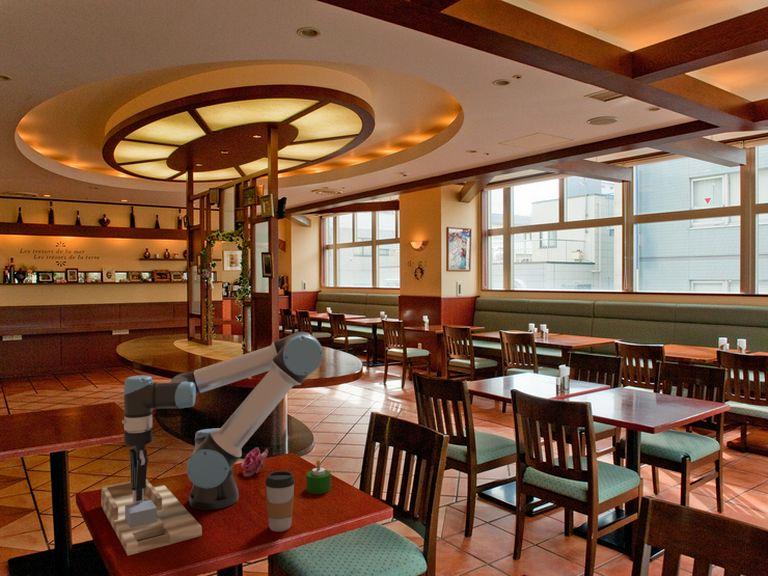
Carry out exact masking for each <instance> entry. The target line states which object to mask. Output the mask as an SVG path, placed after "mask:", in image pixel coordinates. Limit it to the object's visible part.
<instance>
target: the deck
mask: <svg viewBox="0 0 768 576" xmlns="http://www.w3.org/2000/svg"><path fill="white" fill-rule="evenodd" d="M131 488H134V487H132V483H131V480H130V481H126V482H125V481H124V482H121V483H116V484H110V485H105V486H101V493H100V495H101V496H100V497H101V508H102V509H103V512H104V514H105V515H106V517H107V519H108V521H109V523H110V525H111V527H112V529H113V530H114V532H115V534H116V536H117V538H118V540H119V542H120V543H121V546H122V547H123V550H124V551H125V553H126V555H127V556H131V555H135V554H139V553H143V552H146V551H151V550H154V549H157V548H161V547H165V546H169V545H173V544H176V543H180V542H183V541H187V540H191V539H194V538H198V537H202V536H203V527H202V525H201V524H200V522H198V521H197V520H196V518H195V517H194V516H193V515H192V514H191V513H190V512H189V510H187V509H186V508H185V506H184V505H183V504H182V503H181V502H180V501H179V500H178V498H176V496H175V495H174V494H173V493H172V492H171V490H170V489H168V488H167V486H166V485H165V484H164V485H158V486H153V485H152V483H150V481H149V480H148V479H147V478H146V488H144V501H148V500H151V501H152V502H153V503H154V504H155V506H156V507H157V522H154V523H149V524H145V525H141V526H137V527H133V528H130V527H129V525H128V523H127V522H126V520H125V505H129V504H133V491H132V489H131Z"/></svg>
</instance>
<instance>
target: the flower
mask: <svg viewBox="0 0 768 576" xmlns="http://www.w3.org/2000/svg"><path fill="white" fill-rule="evenodd" d="M268 455H269V450H268V448H265V450H264V451H263V452H262V453H261V450H260V449H259V447H254V448H253V449H251V450H250V451H249V452H248V453H247V454H246V456H245V457H244V460H243V462H242V463H241V464H240V465H241V467H242V469H244V470H243V471H242V475H243V476H244V477H251V476H252V475H254V474H255V473H256V474H258V473H259V470H260V469H263V468H264V469H266V466H265V464H264V461H265V459H266V458H267V456H268ZM267 470H268V471H270V468H269V469H267Z"/></svg>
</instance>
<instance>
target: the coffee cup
mask: <svg viewBox="0 0 768 576" xmlns="http://www.w3.org/2000/svg"><path fill="white" fill-rule="evenodd" d="M265 486H266V487H265V488H266V506H267V518H268V520H267V521H268V527H269V529H270V531H272V532H278V533H279V532H284V531H287V530H289V529H290V528H291V526H292V521H293V519H292V518H293V511H294V510H293V508H294V495H295V493H294V490H295V488H294V487H295V477H294V474H293V472H292V471H288V470H277V471H271V472H270V473H268V474H267V476H266V479H265Z"/></svg>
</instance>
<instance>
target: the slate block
mask: <svg viewBox="0 0 768 576" xmlns="http://www.w3.org/2000/svg"><path fill="white" fill-rule="evenodd" d="M125 520H126V522H127V523H128V525H129V527H130V528H133V527H137V526H141V525H145V524H149V523H154V522H157V507H156V506H155V504H154V503H153V502H152V501H151V500H148V501H143V502H138V503H134V504H129V505H125Z"/></svg>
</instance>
